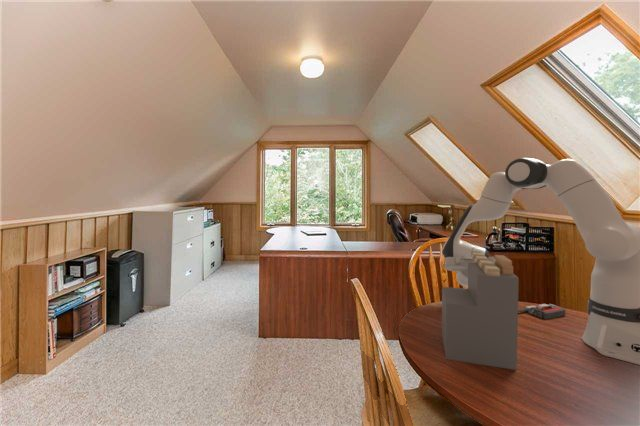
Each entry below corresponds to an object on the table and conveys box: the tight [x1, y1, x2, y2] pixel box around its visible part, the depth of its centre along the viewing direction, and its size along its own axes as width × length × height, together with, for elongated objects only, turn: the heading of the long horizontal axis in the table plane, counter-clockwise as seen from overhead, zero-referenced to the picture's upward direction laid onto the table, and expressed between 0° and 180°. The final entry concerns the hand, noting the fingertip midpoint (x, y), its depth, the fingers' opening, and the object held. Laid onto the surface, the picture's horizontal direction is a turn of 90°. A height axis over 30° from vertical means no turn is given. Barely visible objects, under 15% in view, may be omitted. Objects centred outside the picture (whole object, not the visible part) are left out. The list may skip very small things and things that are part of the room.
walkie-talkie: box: [518, 303, 566, 320], centre depth 116 cm, size 9×4×20 cm
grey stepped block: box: [441, 254, 520, 371], centre depth 89 cm, size 16×18×30 cm
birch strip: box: [471, 251, 500, 276], centre depth 92 cm, size 26×3×2 cm, turn 161°
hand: (476, 258), depth 104 cm, fingers open, 8 cm apart
